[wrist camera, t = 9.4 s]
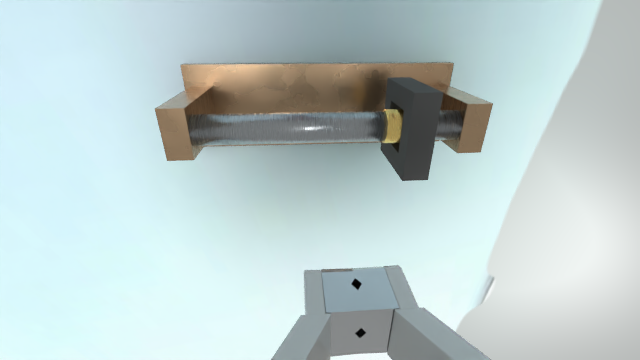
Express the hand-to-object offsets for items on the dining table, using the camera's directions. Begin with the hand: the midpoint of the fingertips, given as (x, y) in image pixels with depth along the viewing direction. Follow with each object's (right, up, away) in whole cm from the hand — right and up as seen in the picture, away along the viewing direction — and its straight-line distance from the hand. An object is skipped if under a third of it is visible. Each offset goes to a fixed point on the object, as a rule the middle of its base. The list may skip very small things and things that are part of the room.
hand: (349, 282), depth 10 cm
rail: (-1, +11, +22) cm, 25 cm away
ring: (+6, +9, +18) cm, 21 cm away
